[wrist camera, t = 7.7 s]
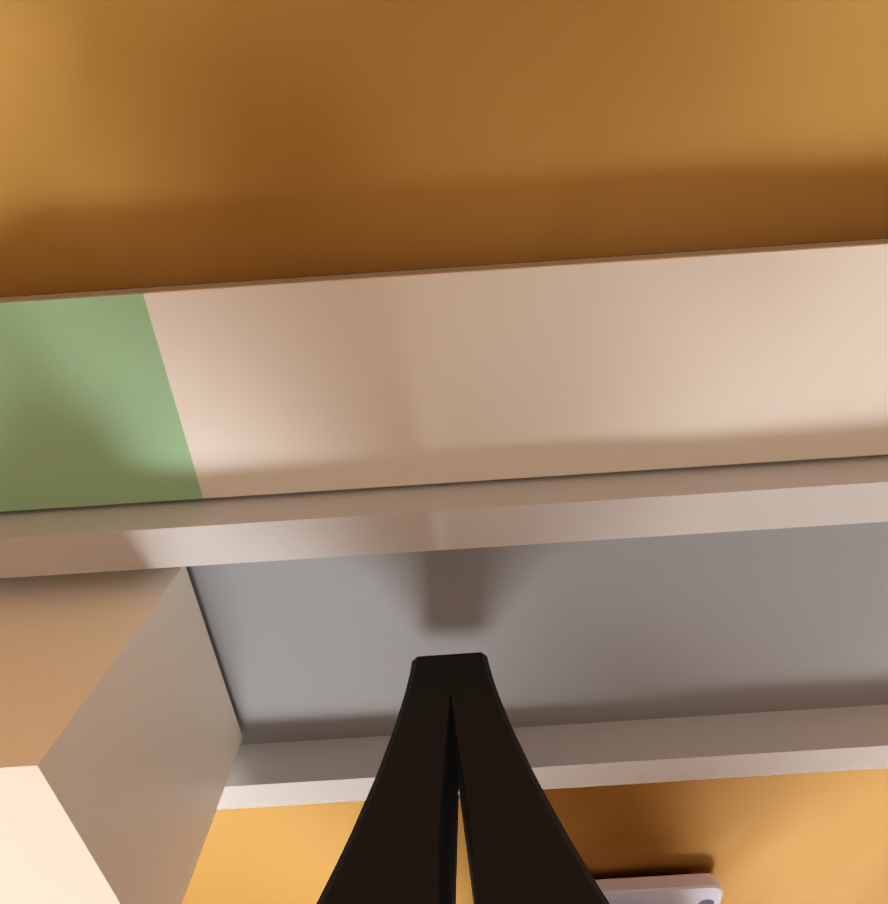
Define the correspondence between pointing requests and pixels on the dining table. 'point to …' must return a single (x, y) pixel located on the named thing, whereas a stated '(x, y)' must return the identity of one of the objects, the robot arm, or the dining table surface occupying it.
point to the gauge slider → (107, 737)
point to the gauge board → (489, 500)
